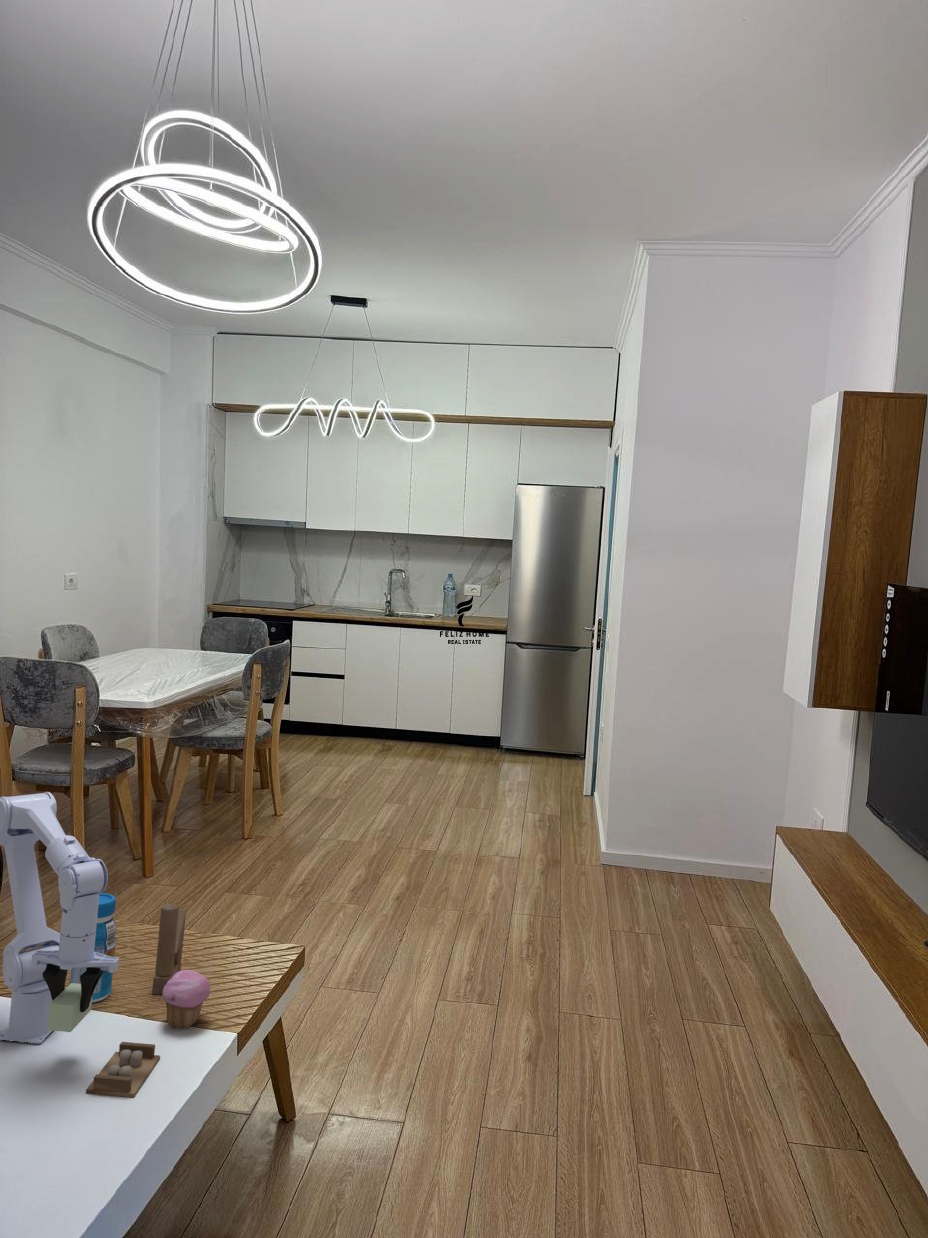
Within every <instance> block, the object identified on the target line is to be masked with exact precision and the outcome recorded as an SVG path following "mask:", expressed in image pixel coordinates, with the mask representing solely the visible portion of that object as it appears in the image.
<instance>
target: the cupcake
mask: <svg viewBox="0 0 928 1238" xmlns="http://www.w3.org/2000/svg"><path fill="white" fill-rule="evenodd" d="M210 990H211V986H210V982H209V979H208V978H207V977H206V976H205V975H203V974H201V973H199V972H197V971H196V970H192V969H184V970H183V969H182V970H180V971H179V972H177V973H176V974H175V975H174V976H173V977H172V978H171V979H170V980H169V981H168V982H167V984H166V985H165V987H164V989H163V993H162V994H161V996H162V1001H164V1002H165V1005H166V1022H167V1025H168V1026H169V1027H171V1028H176V1027H179V1028H178V1029H181V1028H182V1029H183V1028H184V1029H187V1028H189V1027H191V1026H193V1025H194V1024H195V1023H196V1022H197V1021H198V1019H199V1017H200V1013H201V1010H202V1007H203V1003H204V1001H205V1000H207V999H208V998H209V997H210V993H211V991H210Z"/></svg>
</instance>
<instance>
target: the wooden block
mask: <svg viewBox="0 0 928 1238" xmlns="http://www.w3.org/2000/svg"><path fill="white" fill-rule="evenodd" d="M186 916H187V909H180V906H179V904H176V903H166V904H163V905H161V907H160V916H159V917H160V919H159V927H158V928H159V930H158V936H157V937H158V939H157V947H156V949H157V950H156V960H155V971H154V974H155V975H154V976H153V981H152V989H151V990H152V991H151V994H152V995H162V993H163V989H164V987H165V985H166V984H167V982H168V981H169V980H170V979H171V978H172V977H173V976H174V975H175V974H176V973H177V972H179V971H182V970H181V969H182V958H183V947H184V946H183V945H184V943H183V942H184V939H185V938H184V937H185V930H186V929H185V928H186Z"/></svg>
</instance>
